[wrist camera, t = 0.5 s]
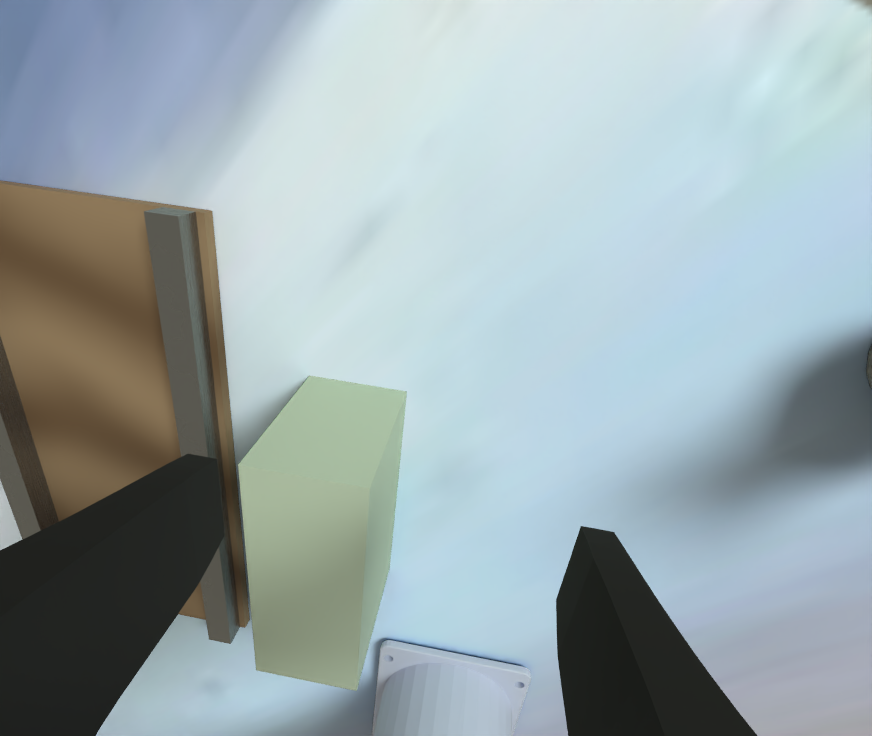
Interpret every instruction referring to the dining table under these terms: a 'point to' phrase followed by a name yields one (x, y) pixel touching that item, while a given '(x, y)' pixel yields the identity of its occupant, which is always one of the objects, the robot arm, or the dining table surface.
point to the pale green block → (321, 527)
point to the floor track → (113, 364)
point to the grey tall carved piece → (869, 367)
